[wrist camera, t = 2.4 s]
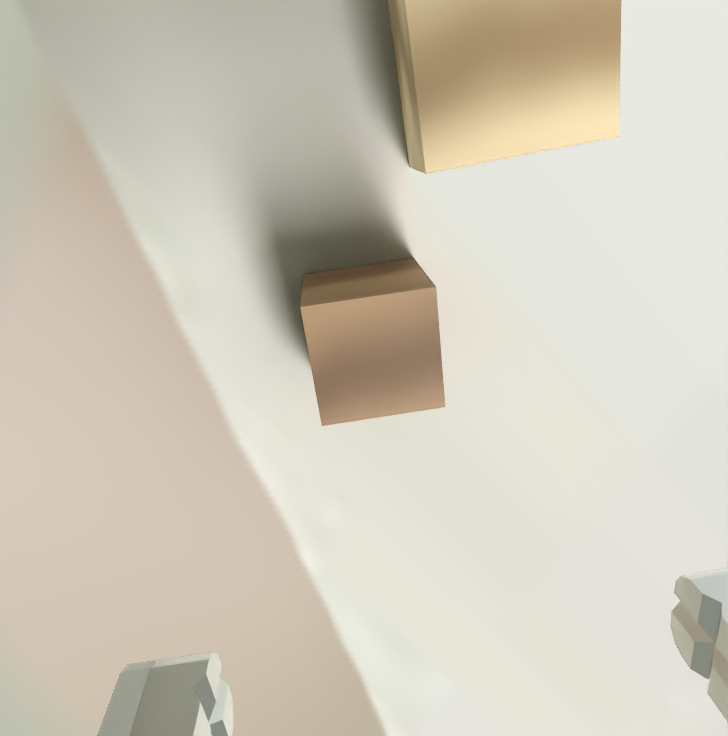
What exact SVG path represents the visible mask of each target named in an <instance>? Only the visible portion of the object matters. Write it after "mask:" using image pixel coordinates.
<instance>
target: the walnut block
mask: <svg viewBox="0 0 728 736" xmlns="http://www.w3.org/2000/svg"><path fill="white" fill-rule="evenodd" d="M300 309H301V315H302V320H303V325H304V331H305V336H306V342H307V347H308V353H309V358H310V363H311V369H312V374H313V380H314V385H315V391H316V396H317V401H318V407H319V412H320V418H321V423H322V426H324V425H331V424H337V423H344V422H350V421H357V420H363V419H370V418H376V417H383V416H389V415H396V414H402V413H409V412H415V411H422V410H428V409H435V408H441V407H445V398H444V385H443V372H442V359H441V346H440V333H439V321H438V308H437V295H436V286H435V285H434V284H433V282H432V281H431V280H430V279H429V277H428V276H427V275H426V273H425V272H424V271H423V269H422V268H421V267H420V266H419V264H418V263H417V262H416V260H415V259H414V258H410V259H403V260H396V261H390V262H383V263H376V264H369V265H362V266H355V267H349V268H342V269H335V270H328V271H321V272H315V273H308V274H303V278H302V290H301V303H300Z"/></svg>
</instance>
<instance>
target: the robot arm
mask: <svg viewBox="0 0 728 736" xmlns="http://www.w3.org/2000/svg"><path fill="white" fill-rule="evenodd" d="M674 593H675V594H676V595H677V597H678V598H679V599H680V602H679V604H678V605H677V606H676V607H675V608H674V609H673V610H672V613H671V629H672V633H673V637H674V641H675V644H676V646H677V648H678V650H679V652H680V654H681V656H682V657H683V659H684V660H685V661H686V663H687V664H688V666H689V667H690V669H692V670H694V671H695V672H697V673H698V674H700V675H702V676H703V677H705V678H707V679H708V689H707V693H708V695H709V696H710V698H711V699H712V700H713V702H714V703H715V705H716V706H717V707H718V709H719V710H720V712H721V713H722V715H723V716H724V717H725V719H726V720H727V722H728V568H723V569H717V570H711V571H706V572H700V573H694V574H688V575H683V576H680V577H679V578H678V580H677V581H676V584H675V590H674ZM221 669H222V664H221V661H220V659H219V657H218V654H217V653H216V652H212V653H204V654H196V655H189V656H182V657H174V658H167V659H159V660H153V661H147V662H140V663H133V664H127V665H126V667H125V668H124V669H123V671H122V672H121V673H120V675H119V678H118V681H117V683H116V686H115V689H114V692H113V694H112V697H111V700H110V703H109V705H108V708H107V711H106V713H105V716H104V719H103V722H102V724H101V727H100V730H99V732H98V735H97V736H232V733H233V701H232V695H231V691H230V688H229V685H228V683H227V682H225V681H224V680H222V679H221V678H220V675H221Z"/></svg>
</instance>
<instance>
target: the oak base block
mask: <svg viewBox="0 0 728 736" xmlns="http://www.w3.org/2000/svg"><path fill="white" fill-rule="evenodd" d="M388 7H389V15H390V23H391V30H392V38H393V45H394V53H395V60H396V68H397V75H398V83H399V91H400V98H401V106H402V113H403V121H404V128H405V136H406V144H407V151H408V159H409V166H410V167H411V168H413V169H416V170H418V171H420V172H423V173H425V174H428V173H433V172H439V171H444V170H449V169H454V168H459V167H465V166H470V165H475V164H480V163H485V162H491V161H496V160H501V159H506V158H511V157H517V156H522V155H527V154H532V153H537V152H543V151H548V150H553V149H558V148H563V147H569V146H574V145H579V144H584V143H589V142H595V141H600V140H605V139H610V138H615V137H619V102H620V42H621V0H388Z"/></svg>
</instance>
